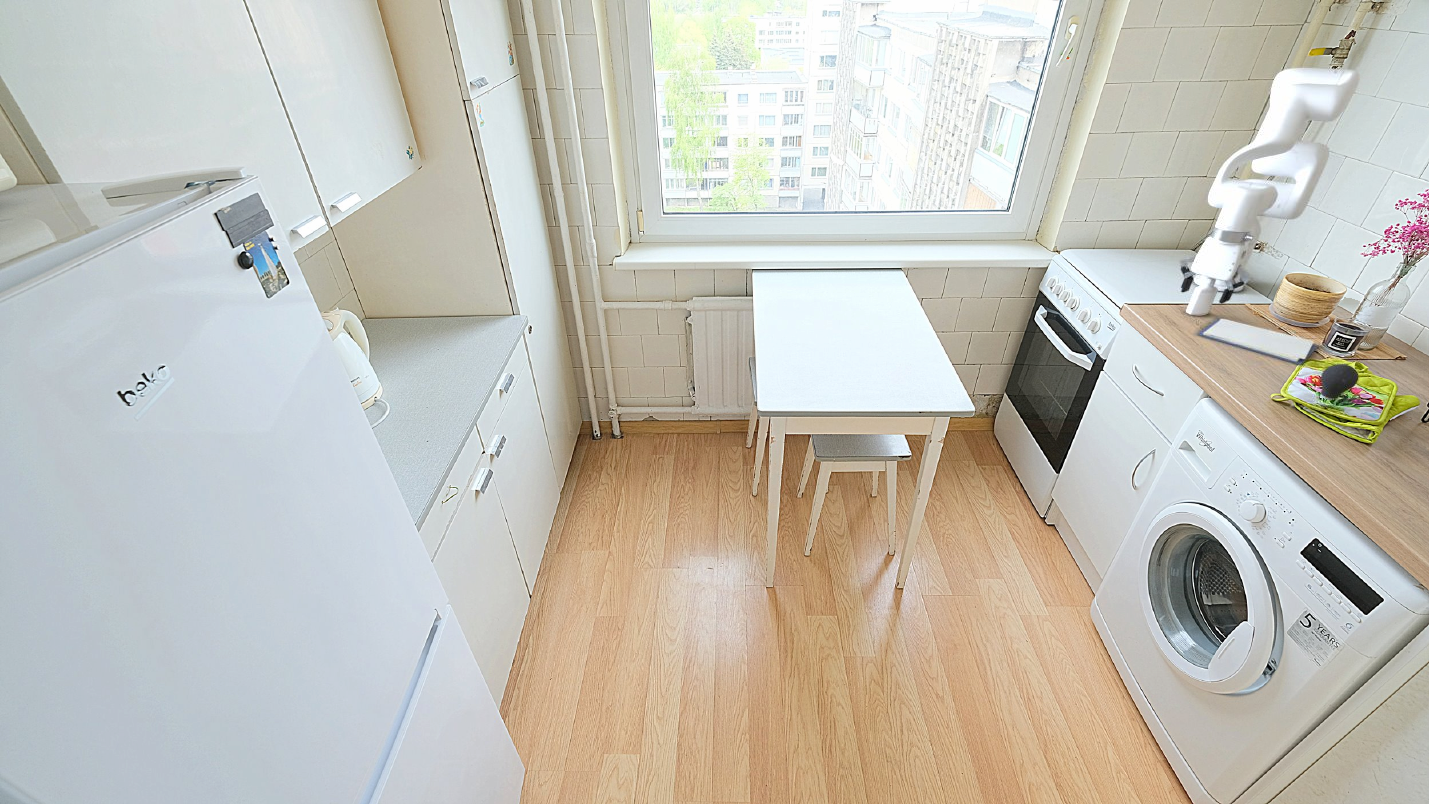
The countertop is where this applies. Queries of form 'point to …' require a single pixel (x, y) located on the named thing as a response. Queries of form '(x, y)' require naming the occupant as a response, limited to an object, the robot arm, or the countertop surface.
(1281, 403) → the countertop surface
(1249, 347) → the grey flat slab
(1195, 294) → the eye dropper bottle
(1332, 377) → the light bulb
